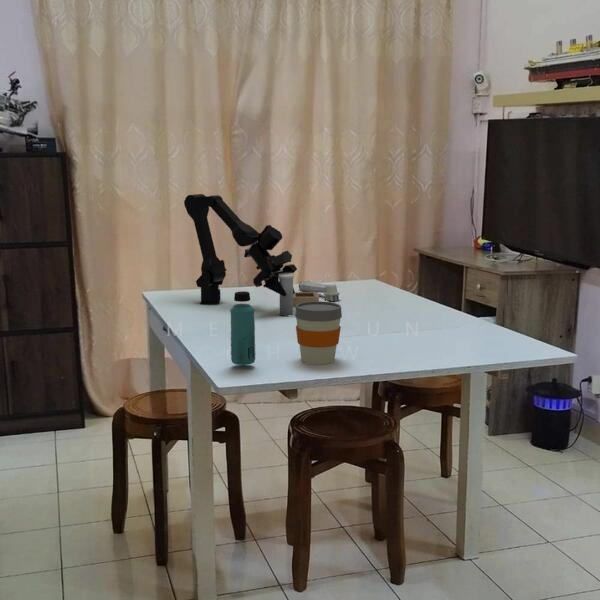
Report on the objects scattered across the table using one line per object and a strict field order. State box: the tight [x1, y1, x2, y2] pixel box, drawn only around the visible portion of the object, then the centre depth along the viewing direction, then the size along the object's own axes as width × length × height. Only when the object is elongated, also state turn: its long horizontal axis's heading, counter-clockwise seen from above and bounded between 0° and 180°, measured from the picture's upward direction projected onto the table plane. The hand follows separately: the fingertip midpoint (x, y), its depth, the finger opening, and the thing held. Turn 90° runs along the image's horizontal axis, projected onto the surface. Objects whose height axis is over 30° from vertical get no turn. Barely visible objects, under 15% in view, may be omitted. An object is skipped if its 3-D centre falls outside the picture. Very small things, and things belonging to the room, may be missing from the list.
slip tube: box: [279, 272, 295, 317], centre depth 268 cm, size 5×5×14 cm
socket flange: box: [293, 291, 320, 307], centre depth 285 cm, size 10×10×4 cm
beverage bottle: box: [229, 291, 257, 366], centre depth 207 cm, size 6×7×20 cm
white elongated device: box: [298, 280, 340, 302], centre depth 302 cm, size 5×7×25 cm
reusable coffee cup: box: [294, 300, 343, 366], centre depth 214 cm, size 13×12×15 cm
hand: (289, 294), depth 268 cm, fingers closed on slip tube, 4 cm apart
